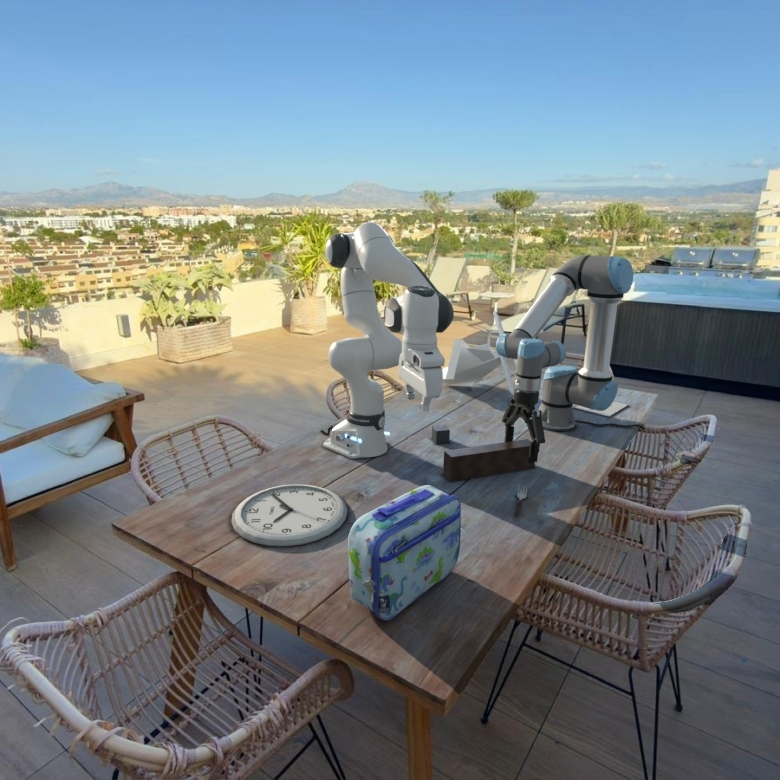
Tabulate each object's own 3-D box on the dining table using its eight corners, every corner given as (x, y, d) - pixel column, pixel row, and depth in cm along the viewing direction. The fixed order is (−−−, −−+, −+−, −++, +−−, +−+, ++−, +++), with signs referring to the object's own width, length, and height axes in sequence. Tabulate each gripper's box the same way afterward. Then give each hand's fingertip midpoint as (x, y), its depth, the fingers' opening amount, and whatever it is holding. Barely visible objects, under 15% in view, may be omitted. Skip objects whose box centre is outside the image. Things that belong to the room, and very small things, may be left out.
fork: (510, 517, 138) (511, 510, 137) (518, 490, 152) (518, 484, 152) (520, 519, 137) (521, 512, 137) (527, 491, 152) (528, 485, 151)
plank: (525, 461, 172) (527, 439, 169) (534, 467, 167) (536, 444, 165) (442, 474, 162) (444, 450, 159) (450, 481, 157) (451, 457, 155)
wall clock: (347, 538, 125) (219, 542, 122) (347, 544, 125) (219, 548, 123) (347, 480, 153) (242, 482, 151) (347, 485, 154) (243, 487, 151)
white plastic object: (461, 429, 252) (437, 405, 227) (444, 352, 274) (420, 323, 250) (535, 404, 240) (518, 377, 215) (510, 326, 262) (492, 293, 237)
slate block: (444, 437, 190) (445, 425, 189) (449, 443, 185) (450, 430, 184) (431, 438, 189) (432, 425, 187) (435, 444, 184) (436, 431, 183)
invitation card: (608, 416, 214) (573, 407, 224) (608, 416, 214) (573, 408, 224) (628, 404, 229) (594, 396, 238) (628, 405, 229) (594, 397, 238)
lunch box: (378, 635, 98) (379, 537, 91) (341, 606, 105) (340, 513, 99) (464, 574, 115) (470, 488, 109) (427, 553, 122) (431, 471, 116)
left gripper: (393, 344, 140) (392, 393, 144) (423, 362, 121) (421, 418, 126) (414, 343, 142) (413, 391, 146) (448, 361, 123) (445, 416, 128)
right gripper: (494, 379, 170) (489, 440, 177) (541, 402, 148) (533, 471, 154) (514, 378, 173) (508, 437, 179) (563, 400, 151) (554, 467, 157)
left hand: (417, 404), depth 136 cm, fingers open, 8 cm apart
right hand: (520, 453), depth 167 cm, fingers open, 13 cm apart
